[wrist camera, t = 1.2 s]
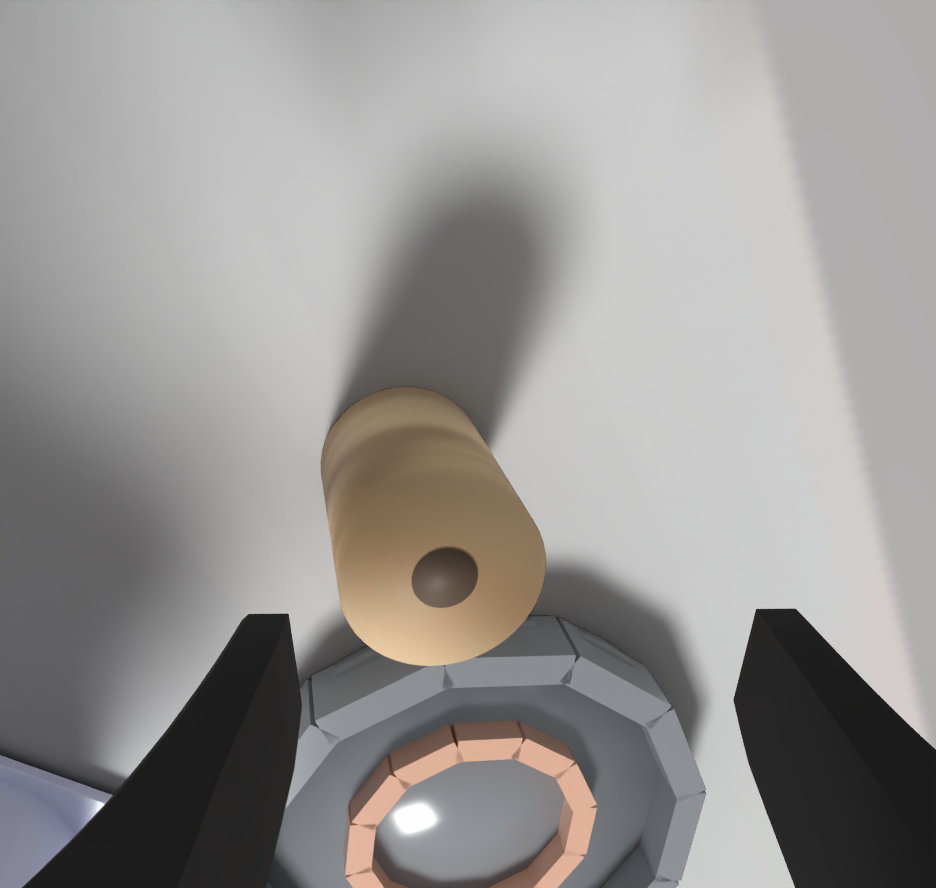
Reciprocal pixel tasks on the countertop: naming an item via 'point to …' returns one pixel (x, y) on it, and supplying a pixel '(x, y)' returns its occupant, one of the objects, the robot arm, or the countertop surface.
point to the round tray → (490, 772)
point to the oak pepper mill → (426, 530)
